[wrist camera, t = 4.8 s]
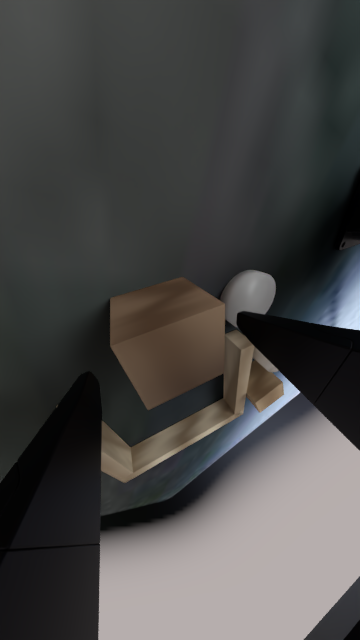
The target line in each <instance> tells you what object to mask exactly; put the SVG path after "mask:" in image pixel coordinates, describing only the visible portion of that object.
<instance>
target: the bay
mask: <svg viewBox="0 0 360 640" xmlns="http://www.w3.org/2000/svg"><path fill="white" fill-rule="evenodd" d="M253 351H254V345H253V344H252V343H251V342H250V341H249V340H248V339H247V337H245V336H244V335H243V334H242V333H240V332H239V331H238V330H234V331H231V332H229V333H226V334H225V354H224V397H223V398H222V399H221V400H219V401H217V402H215V403H213V404H211V405H209V406H208V407H206V408H204V409H202V410H200V411H198V412H196V413H194V414H193V415H191V416H189V417H187V418H185V419H183V420H181V421H180V422H178V423H176V424H174V425H172V426H170V427H168V428H166V429H165V430H163V431H161V432H159V433H157V434H155V435H153V436H151V437H150V438H148V439H146V440H144V441H142V442H140V443H138V444H137V445H135V446H133V447H129V446H128V445H127V444H126V443H125V442H124V441H123V440H122V439H121V438H120V437H119V436H118V435H117V434H116V433H115V432H114V431H113V430H112V429H111V428H110V427H109V426H108V425H107V424H106V423H105V422H103V421H102V449H101V471H103V472H105V473H107V474H109V475H111V476H112V477H114V478H116V479H118V480H120V481H122V482H124V483H126V482H128V481H129V480H131V479H133V478H134V477H136V476H138V475H140V474H141V473H143V472H145V471H146V470H148V469H150V468H152V467H153V466H155V465H157V464H158V463H160V462H162V461H164V460H165V459H167V458H169V457H170V456H172V455H174V454H176V453H177V452H179V451H181V450H182V449H184V448H186V447H187V446H189V445H191V444H193V443H194V442H196V441H198V440H199V439H201V438H203V437H205V436H206V435H208V434H210V433H211V432H213V431H215V430H217V429H218V428H220V427H222V426H223V425H225V424H227V423H229V422H230V421H232V420H234V419H235V418H237V417H239V416H241V415H242V414H243V410H244V404H245V398H246V392H247V387H248V381H249V375H250V369H251V363H252V357H253ZM57 406H58V405H57ZM57 406H56V407H57Z"/></svg>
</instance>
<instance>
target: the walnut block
mask: <svg viewBox="0 0 360 640" xmlns="http://www.w3.org/2000/svg"><path fill="white" fill-rule="evenodd" d="M110 347H111V348H112V350H113V352H114V354H115V355H116V357H117V359H118V360H119V362H120V364H121V365H122V367H123V369H124V370H125V372H126V374H127V376H128V377H129V379H130V381H131V382H132V384H133V386H134V387H135V389H136V391H137V392H138V394H139V396H140V398H141V399H142V401H143V403H144V404H145V406H146V408H147V409H148V410H150V409H152V408H154V407H156V406H158V405H160V404H162V403H164V402H166V401H168V400H170V399H172V398H174V397H176V396H178V395H180V394H183V393H185V392H187V391H189V390H191V389H193V388H195V387H197V386H199V385H201V384H203V383H205V382H207V381H209V380H211V379H213V378H215V377H217V376H219V375H221V374H223V373H224V354H225V304H224V303H223V302H221V301H220V300H218V299H217V298H215V297H213V296H212V295H210V294H209V293H207V292H206V291H204V290H202V289H201V288H199V287H198V286H196V285H195V284H193V283H191V282H190V281H188V280H187V279H185V278H184V277H180V278H177V279H173V280H170V281H167V282H163V283H160V284H156V285H153V286H150V287H146V288H143V289H139V290H136V291H133V292H129V293H126V294H123V295H119V296H116V297H112V298H110Z"/></svg>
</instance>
